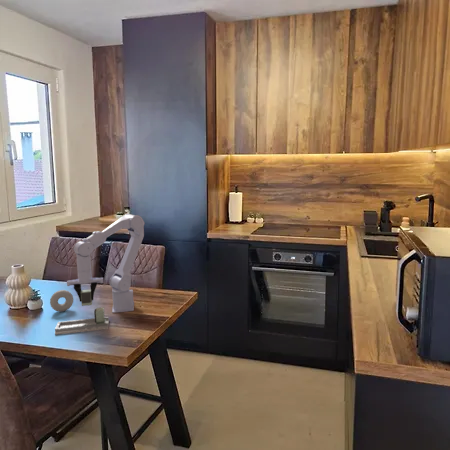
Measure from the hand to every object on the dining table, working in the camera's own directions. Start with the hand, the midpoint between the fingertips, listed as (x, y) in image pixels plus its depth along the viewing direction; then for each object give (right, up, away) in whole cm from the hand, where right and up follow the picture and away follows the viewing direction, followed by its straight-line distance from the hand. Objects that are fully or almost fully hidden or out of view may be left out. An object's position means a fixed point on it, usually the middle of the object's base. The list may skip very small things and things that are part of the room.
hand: (86, 300), depth 172 cm
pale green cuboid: (0, -2, 0) cm, 2 cm away
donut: (-14, -7, +10) cm, 19 cm away
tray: (+1, -9, -9) cm, 13 cm away
